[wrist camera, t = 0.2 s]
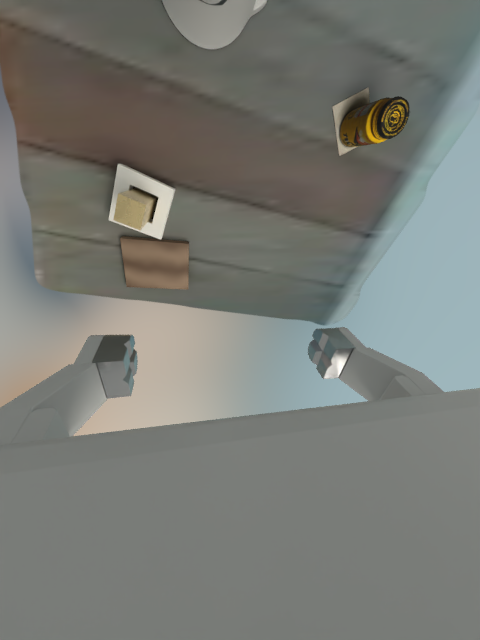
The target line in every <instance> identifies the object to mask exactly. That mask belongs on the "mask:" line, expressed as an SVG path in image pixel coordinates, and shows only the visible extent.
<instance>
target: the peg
mask: <svg viewBox="0 0 480 640" xmlns="http://www.w3.org/2000/svg"><path fill="white" fill-rule="evenodd" d="M156 199H157V197H155V196H153V195H150V194H148V193H146V192H144V191H141V190H139V189H137V188H135V189H132V190H128V191H125V192H121V193H118V197H117V202H116V208H115V214H114V221H117V222H119V223H122V224H125V225H127V226H130V227H133V228H135V229H138V230H141V229H142V228H143V227H144V226H145V225H146V223H147V222H148V221H149V220H150V219H151V218H152V215H153V211H154V207H155V203H156Z"/></svg>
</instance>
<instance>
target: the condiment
mask: <svg viewBox="0 0 480 640" xmlns="http://www.w3.org/2000/svg"><path fill="white" fill-rule="evenodd" d="M344 113H345V114H344ZM333 114H334V121H335V128H336V137H337V143H338V151H339V155H340V156H341V155H342V154H344V153H346V152H348V151H350V150H352V149H354V148H356V147H358V146H363V145H369V144H377V143H380V142H383V141H385V140H386V139H391V138H393V137H395V136H396V135H398V134H399V133H400V132H401V131H402V129H403V128H404V126H405V125H406V123H407V120H408V117H409V103H408V102H407V100H406V99H404V98H402V97H399V96H398V97H394V98H383V99H380V100H378V101H375V102H373V103H369V87H368V88H366V89H364V90H362V91H361V92H359V93H357V94H355V95H353V96H351V97H349V98H348V99H346V100H344V101H342V102H340V103H338V104H337V105H335V106H333ZM343 116H344V117H343Z"/></svg>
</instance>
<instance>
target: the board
mask: <svg viewBox="0 0 480 640" xmlns="http://www.w3.org/2000/svg"><path fill="white" fill-rule="evenodd" d="M120 241H121V248H122V256H123V263H124V270H125V278H126V285H127V287H141V288H166V289H188V270H189V242H186V241H174V240H163V239H161V240H160V239H151V238H139V237H127V236H122V237H121V238H120Z"/></svg>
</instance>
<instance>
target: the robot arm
mask: <svg viewBox="0 0 480 640" xmlns="http://www.w3.org/2000/svg"><path fill="white" fill-rule="evenodd" d="M162 2H163V4H164V7H165V9H166V11H167V13H168V15H169V17H170V19H171V20H172V22H173V23H174V25H175V26H176V28H177V29H178V30H179V31H180V33H181V34H182V35H183V36H184V37H185V38H187V39H188V40H189V41H190V42H192V43H193V44H195V45H197V46H199V47H202V48H205V49H219V48H222V47H225V46H227V45H228V44H230V43H231V42H232V41H234V40H235V39H236V38H237V36H238V35H239V34H240V33H241V31H242V30H243V28H244V26H245V24H246V23H247V21H248V20H249V18H250V17H251V16H253V15H254V14H256V13H257V12H259V11H260V10H261V9H262V8H263V7H264V6H265V5H266V2H267V0H162ZM313 339H314V340H313V341H311V342H310V344H309V347H308V355H309V358H310V359H311V361H312V362H313V363H315V364H316V365H317V368H316V369H317V370H318V372H319V373H320V375H321V376H322V378H323V379H330V378H339V379H340V380H341V381H343V382H344V383H345V384H347V385H348V386H349V387H351V388H352V389H353V390H355V391H356V392H357V393H359V394H360V395H361V396H363V397H364V398H365V399H367V400H368V401H367V402H359V403H351V404H342V405H334V406H325V407H317V408H308V409H300V410H291V411H283V412H275V413H266V414H258V415H249V416H241V417H232V418H225V419H216V420H207V421H199V422H191V423H182V424H173V425H165V426H157V427H149V428H140V429H131V430H123V431H115V432H106V433H99V434H89V435H81V436H73V435H74V434H75V433H76V432H77V431H78V430H79V429H80V428H81V427H82V425H84V424H85V422H86V421H87V420H88V419H89V418H90V417H91V416H92V415H93V414H94V413H95V412H96V411H97V410H98V409H99V408H100V407H101V406H102V404H103V403H104V402H105V401H106V400H107V398H116V397H124V396H131V394H132V389H133V385H134V379H133V376H134V375H135V374H136V371H137V352H136V351H135V350H134V345H135V341H134V336H133V335H91V336H89V337H88V339H87V340H86V342H85V344H84V346H83V348H82V350H81V351H80V353H79V355H78V357H77V359H76V361H75V363H74V364H71V365H68V366H66V367H64V368H63V369H61V370H60V371H58V372H56V373H55V374H53V375H52V376H50V377H49V378H47V379H46V380H44V381H42V382H41V383H39V384H37V385H36V386H34V387H33V388H31V389H29V390H28V391H26V392H25V393H23V394H21V395H20V396H18V397H17V398H15V399H14V400H12V401H11V402H9V403H7V404H6V405H4V406H2V407H1V408H0V640H480V388H477V389H470V390H469V389H468V390H460V391H451V392H443V391H442V390H441V389H440V388H439V387H438V386H437V385H436V384H434V383H433V382H432V381H431V380H430V379H429V378H428V377H427V376H425V375H424V374H423V373H422V372H419V371H417V370H415V369H413V368H411V367H409V366H407V365H405V364H402V363H400V362H398V361H396V360H394V359H392V358H390V357H388V356H386V355H384V354H381V353H379V352H377V351H375V350H373V349H371V348H366V347H365V346H364V345H363V344H362V343H361V342H360V341H359V340H358V339H357V338H356V337H355V336H354V335H353V334H352V333H351V332H350V331H349V330H348V329H347V328H344V327H341V328H332V329H331V328H328V329H316V330H315V331H314V333H313Z"/></svg>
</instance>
